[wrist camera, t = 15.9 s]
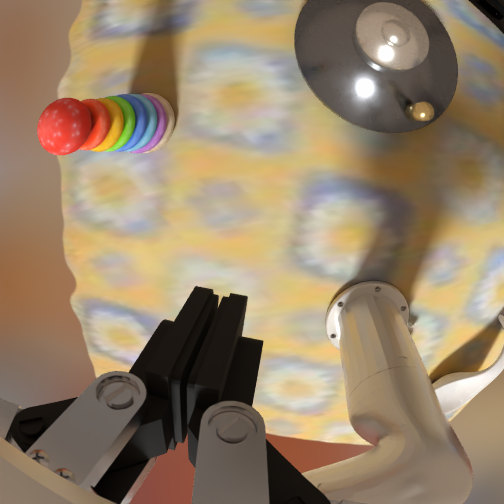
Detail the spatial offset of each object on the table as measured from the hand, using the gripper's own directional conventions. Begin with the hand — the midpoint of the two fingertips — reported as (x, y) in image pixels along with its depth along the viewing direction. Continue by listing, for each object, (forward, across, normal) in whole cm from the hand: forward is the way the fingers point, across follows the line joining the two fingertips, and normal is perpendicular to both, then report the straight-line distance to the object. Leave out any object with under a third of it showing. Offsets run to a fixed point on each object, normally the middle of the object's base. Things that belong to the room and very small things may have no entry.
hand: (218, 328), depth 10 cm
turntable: (+28, -10, -19) cm, 35 cm away
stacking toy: (+29, +17, -6) cm, 34 cm away
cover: (+26, -10, -20) cm, 34 cm away
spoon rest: (+30, -40, +24) cm, 56 cm away
